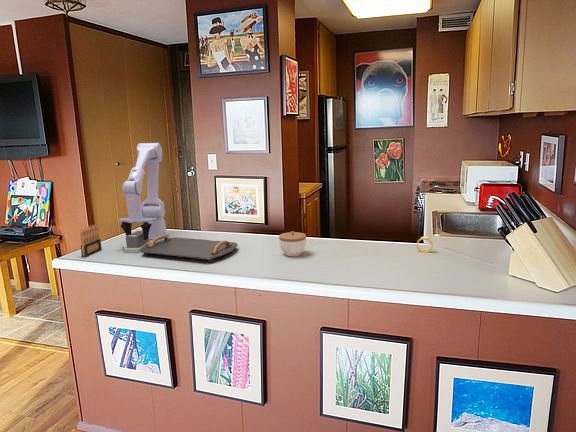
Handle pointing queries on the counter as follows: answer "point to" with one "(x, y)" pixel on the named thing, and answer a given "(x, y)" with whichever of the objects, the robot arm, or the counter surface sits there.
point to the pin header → (135, 249)
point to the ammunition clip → (90, 241)
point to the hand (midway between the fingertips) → (137, 239)
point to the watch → (425, 239)
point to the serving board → (189, 248)
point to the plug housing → (136, 240)
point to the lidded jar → (292, 243)
